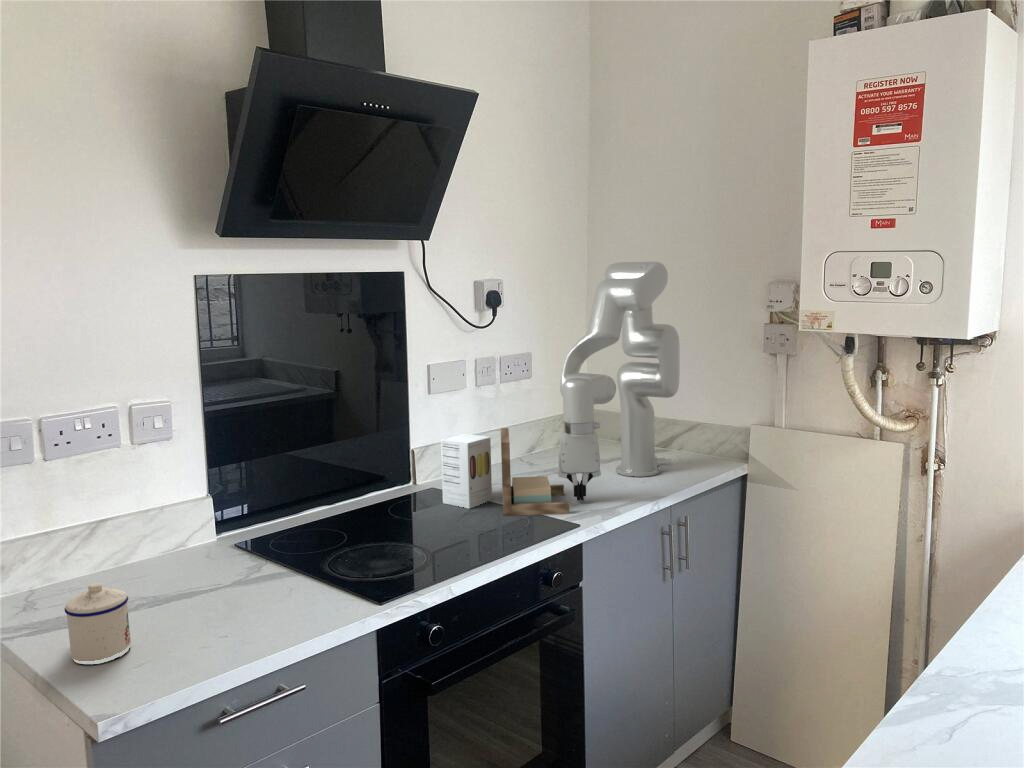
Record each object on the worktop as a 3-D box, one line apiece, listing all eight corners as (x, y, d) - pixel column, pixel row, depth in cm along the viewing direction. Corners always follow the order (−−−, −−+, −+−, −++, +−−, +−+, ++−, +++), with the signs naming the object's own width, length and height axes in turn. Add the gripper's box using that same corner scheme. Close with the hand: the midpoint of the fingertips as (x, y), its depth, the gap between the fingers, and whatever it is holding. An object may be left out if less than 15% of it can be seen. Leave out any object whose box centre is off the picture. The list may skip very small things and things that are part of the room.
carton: (547, 498, 215) (547, 476, 214) (551, 512, 203) (550, 488, 202) (512, 499, 214) (512, 477, 213) (514, 513, 202) (513, 490, 202)
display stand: (563, 493, 218) (562, 426, 215) (569, 513, 200) (568, 440, 198) (502, 495, 217) (500, 428, 215) (503, 515, 200) (501, 442, 198)
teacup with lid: (142, 652, 133) (135, 583, 132) (82, 673, 127) (74, 600, 125) (113, 630, 142) (106, 565, 140) (55, 649, 135) (47, 581, 134)
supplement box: (469, 509, 206) (467, 443, 204) (441, 504, 212) (439, 439, 209) (493, 500, 214) (491, 436, 211) (466, 495, 219) (463, 432, 217)
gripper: (607, 424, 210) (607, 494, 213) (548, 425, 210) (549, 496, 213) (610, 430, 203) (611, 502, 205) (549, 431, 203) (551, 504, 205)
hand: (580, 499), depth 209 cm, fingers closed
